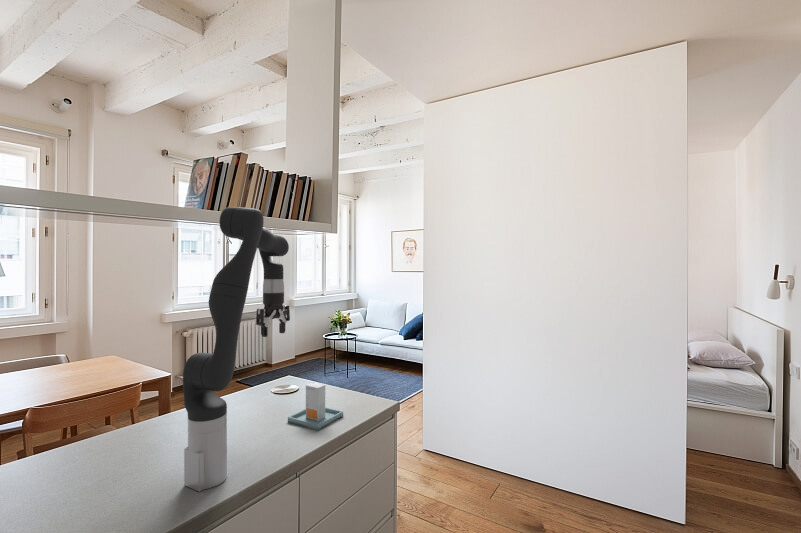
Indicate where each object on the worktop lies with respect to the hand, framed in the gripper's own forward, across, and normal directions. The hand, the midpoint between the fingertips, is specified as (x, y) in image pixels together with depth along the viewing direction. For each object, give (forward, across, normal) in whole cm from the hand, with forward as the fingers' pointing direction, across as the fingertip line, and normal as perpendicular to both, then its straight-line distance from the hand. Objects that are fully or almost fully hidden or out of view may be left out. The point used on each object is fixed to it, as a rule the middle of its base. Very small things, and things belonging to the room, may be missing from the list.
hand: (273, 334), depth 148 cm
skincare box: (+30, +5, -16) cm, 34 cm away
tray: (+30, +5, -16) cm, 34 cm away
